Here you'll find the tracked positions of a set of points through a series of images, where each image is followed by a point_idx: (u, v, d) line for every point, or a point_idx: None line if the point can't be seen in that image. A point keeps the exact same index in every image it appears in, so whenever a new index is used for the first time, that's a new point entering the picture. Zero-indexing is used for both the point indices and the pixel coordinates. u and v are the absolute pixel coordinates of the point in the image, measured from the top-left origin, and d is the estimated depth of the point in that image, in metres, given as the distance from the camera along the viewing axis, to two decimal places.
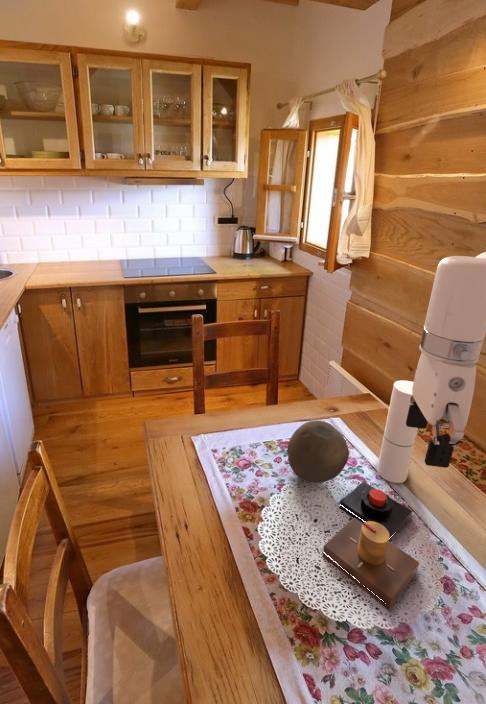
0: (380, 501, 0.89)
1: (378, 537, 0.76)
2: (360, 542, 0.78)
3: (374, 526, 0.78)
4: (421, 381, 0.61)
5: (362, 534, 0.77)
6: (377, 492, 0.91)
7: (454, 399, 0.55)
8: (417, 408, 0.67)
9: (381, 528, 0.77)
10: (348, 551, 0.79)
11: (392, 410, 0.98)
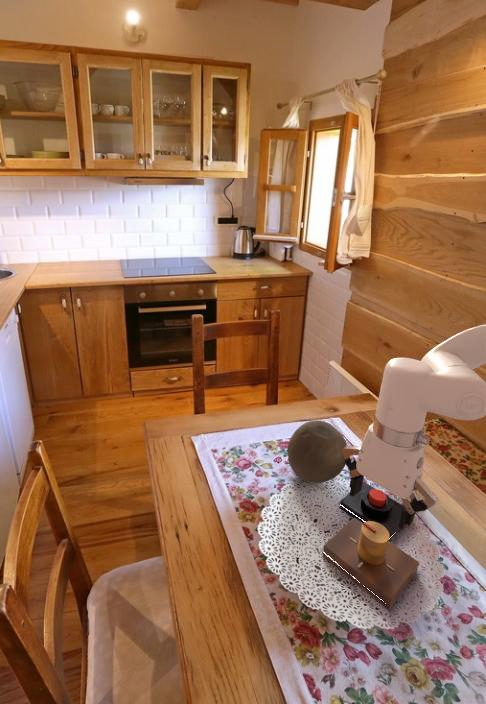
0: (380, 501, 0.89)
1: (378, 537, 0.76)
2: (360, 542, 0.78)
3: (374, 526, 0.78)
4: (379, 465, 0.70)
5: (362, 534, 0.77)
6: (377, 492, 0.91)
7: (418, 474, 0.68)
8: (358, 479, 0.76)
9: (381, 528, 0.77)
10: (348, 551, 0.79)
11: None
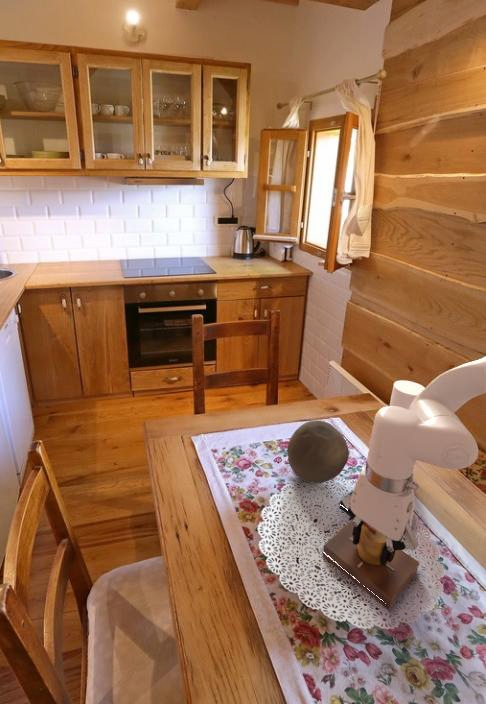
0: None
1: (378, 537, 0.76)
2: (360, 542, 0.78)
3: None
4: (371, 507, 0.73)
5: (362, 534, 0.77)
6: None
7: (409, 520, 0.71)
8: None
9: None
10: (348, 551, 0.79)
11: None
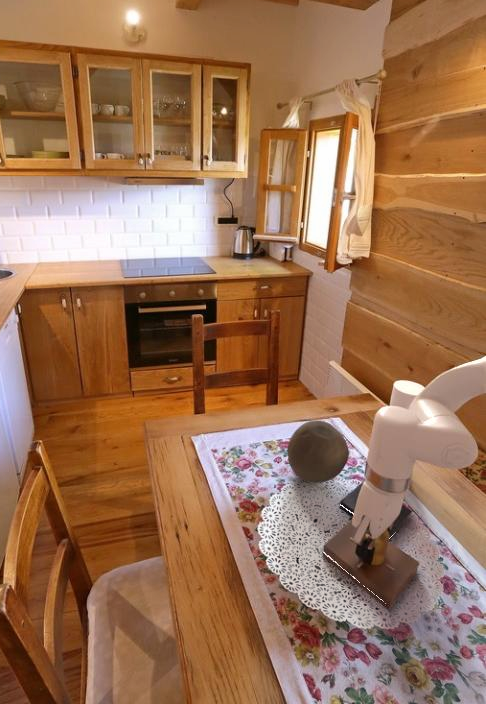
0: None
1: None
2: (378, 553, 0.75)
3: None
4: (392, 512, 0.72)
5: (380, 545, 0.75)
6: None
7: None
8: None
9: None
10: (348, 551, 0.79)
11: None
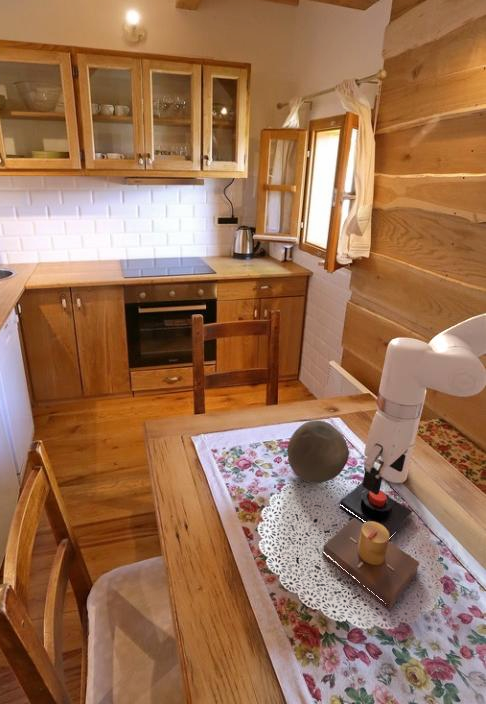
0: (380, 501, 0.89)
1: (382, 531, 0.77)
2: (378, 553, 0.75)
3: (368, 530, 0.77)
4: (403, 440, 0.75)
5: (381, 545, 0.75)
6: None
7: None
8: None
9: (368, 525, 0.78)
10: (348, 551, 0.79)
11: None
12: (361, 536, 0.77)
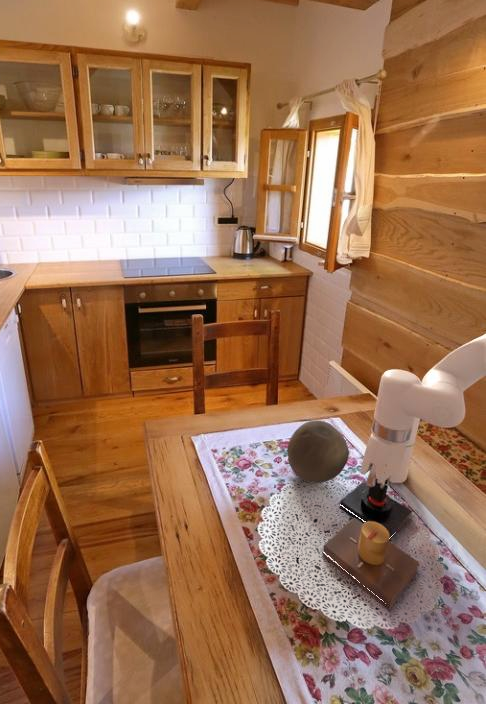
0: (379, 504, 0.89)
1: (382, 531, 0.77)
2: (378, 553, 0.75)
3: (368, 530, 0.77)
4: (395, 460, 0.84)
5: (381, 545, 0.75)
6: None
7: None
8: None
9: (368, 525, 0.78)
10: (348, 551, 0.79)
11: None
12: (361, 536, 0.77)
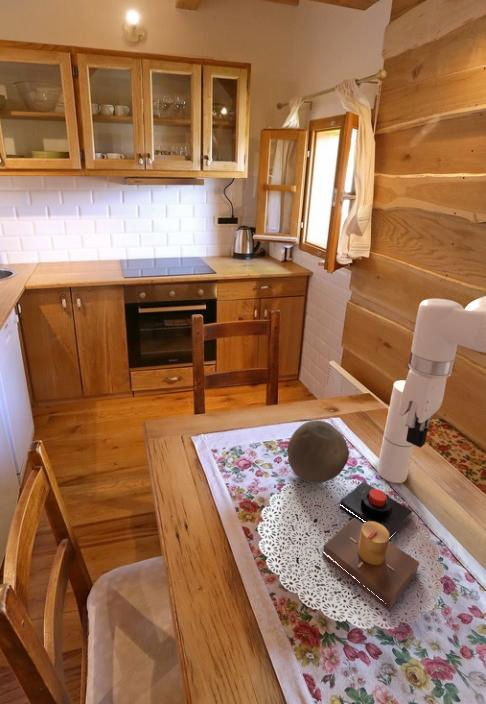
0: (380, 501, 0.89)
1: (382, 531, 0.77)
2: (378, 553, 0.75)
3: (368, 530, 0.77)
4: (436, 398, 0.79)
5: (381, 545, 0.75)
6: (377, 492, 0.91)
7: None
8: None
9: (368, 525, 0.78)
10: (348, 551, 0.79)
11: (392, 410, 0.98)
12: (361, 536, 0.77)
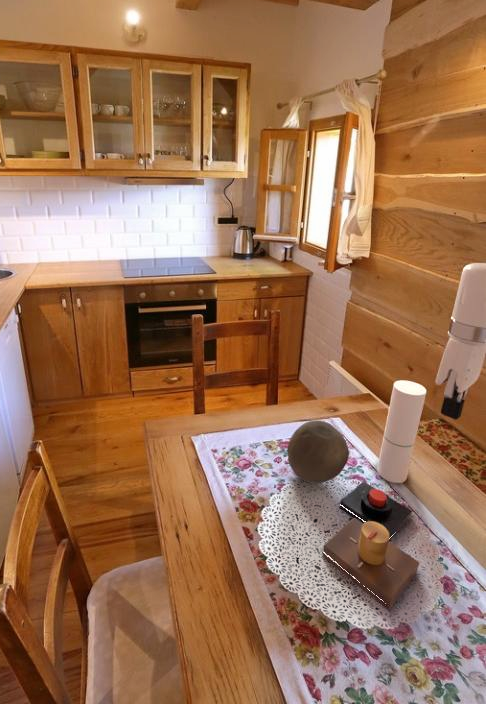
0: (380, 501, 0.89)
1: (382, 531, 0.77)
2: (378, 553, 0.75)
3: (368, 530, 0.77)
4: (477, 367, 0.76)
5: (381, 545, 0.75)
6: (377, 492, 0.91)
7: None
8: None
9: (368, 525, 0.78)
10: (348, 551, 0.79)
11: (392, 410, 0.98)
12: (361, 536, 0.77)
